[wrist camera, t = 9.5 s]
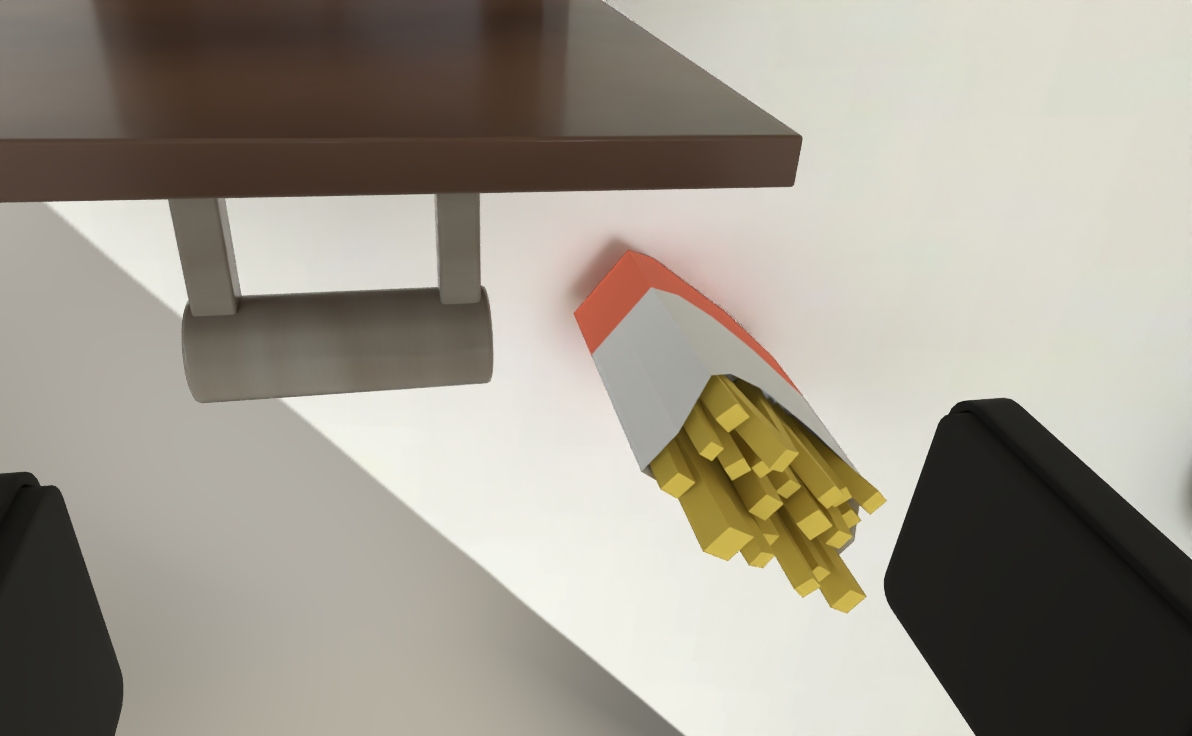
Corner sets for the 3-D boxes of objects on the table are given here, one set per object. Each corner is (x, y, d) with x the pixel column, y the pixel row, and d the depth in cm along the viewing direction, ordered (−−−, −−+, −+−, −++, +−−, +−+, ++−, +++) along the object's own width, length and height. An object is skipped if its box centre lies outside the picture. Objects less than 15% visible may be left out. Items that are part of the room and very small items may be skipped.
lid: (-339, 142, 9) (-156, 505, 12) (805, 135, 13) (750, 426, 15) (77, -38, 23) (120, 151, 26) (573, -20, 26) (566, 147, 29)
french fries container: (620, 223, 42) (758, 437, 28) (760, 329, 48) (938, 555, 33) (562, 291, 44) (664, 531, 29) (705, 387, 49) (852, 630, 34)
